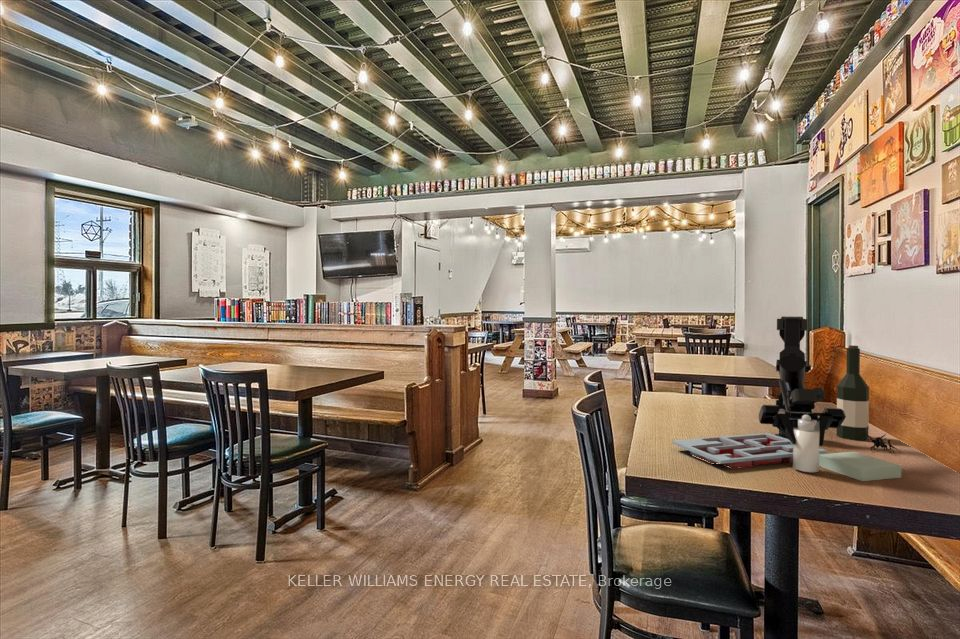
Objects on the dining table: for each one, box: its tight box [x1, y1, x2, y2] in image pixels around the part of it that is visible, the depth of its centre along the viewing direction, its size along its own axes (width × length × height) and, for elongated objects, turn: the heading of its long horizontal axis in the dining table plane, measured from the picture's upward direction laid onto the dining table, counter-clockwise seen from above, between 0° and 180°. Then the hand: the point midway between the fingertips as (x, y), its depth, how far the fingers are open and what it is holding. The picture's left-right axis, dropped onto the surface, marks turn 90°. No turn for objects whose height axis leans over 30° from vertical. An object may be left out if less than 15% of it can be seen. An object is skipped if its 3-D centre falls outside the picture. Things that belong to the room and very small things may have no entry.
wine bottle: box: [836, 344, 870, 442], centre depth 156 cm, size 8×8×30 cm
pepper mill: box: [792, 415, 820, 473], centre depth 123 cm, size 6×6×14 cm
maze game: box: [671, 432, 828, 469], centre depth 137 cm, size 35×20×3 cm, turn 105°
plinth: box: [819, 451, 902, 482], centre depth 123 cm, size 12×12×3 cm
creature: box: [865, 433, 902, 454], centre depth 140 cm, size 8×5×8 cm
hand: (808, 444), depth 122 cm, fingers closed on pepper mill, 6 cm apart
